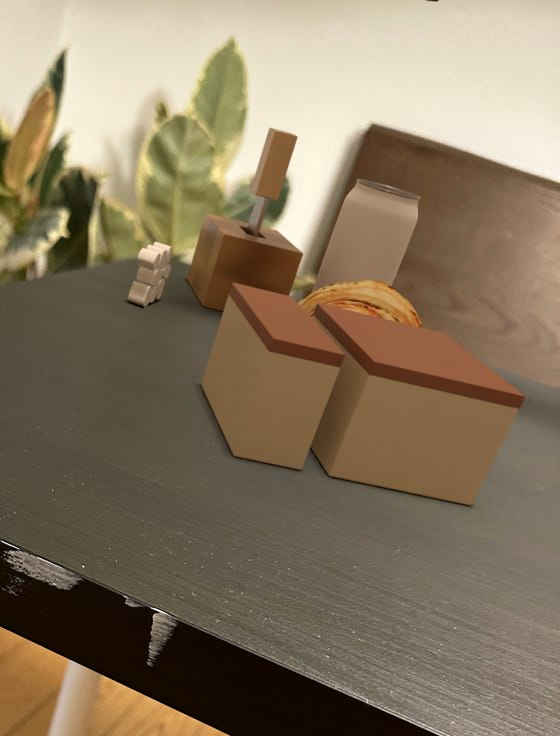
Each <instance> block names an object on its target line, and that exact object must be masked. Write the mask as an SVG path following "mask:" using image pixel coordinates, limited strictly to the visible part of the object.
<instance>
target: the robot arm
mask: <svg viewBox="0 0 560 736" xmlns="http://www.w3.org/2000/svg"><path fill="white" fill-rule="evenodd" d="M439 1H440V0H425V2H435V3H437V2H439Z"/></svg>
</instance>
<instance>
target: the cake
mask: <svg viewBox="0 0 560 736" xmlns="http://www.w3.org/2000/svg"><path fill="white" fill-rule="evenodd" d="M312 319H313V320H314V321H315V322H316V323H317V324H318V325H319V326H320V328H321V329H322V330H323V331H324V332H325V333H326V334H327V335H328V336H329V337H330V338H331V340H332V341H333V342H334V343H335V344H336V345H337V346H338V347H339V348H340V349H341V350H342V352H343V353H344V354H345V357H344V360H343V362H342V365H341V368H340V370H339V373H338V375H337V378H336V381H335V383H334V386H333V388H332V391H331V394H330V396H329V399H328V402H327V404H326V407H325V409H324V412H323V415H322V417H321V420H320V422H319V425H318V428H317V430H316V433H315V436H314V438H313V441H312V443H311V446H310V448H311V450H312V451H313V454H314V455H315V457H316V458H317V459H318V461H319V462H320V464H321V466H322V467H323V469H324V470H325V472H326V473H327V476H329V477H332V478H337V479H342V480H346V481H347V480H348V481H352V482H356V483H361V484H366V485H370V486H376V487H380V488H386V489H390V490H394V491H399V492H403V493H408V494H414V495H418V496H424V497H428V498H432V499H433V498H434V499H438V500H443V501H447V502H453V503H457V504H463V505H466V506H472V505H473V503H474V501H475V500H476V497H477V496H478V493H479V491H480V489H481V487H482V485H483V483H484V481H485V480H486V477H487V475H488V473H489V471H490V469H491V467H492V465H493V464H494V461H495V460H496V456H497V455H498V453H499V451H500V449H501V447H502V445H503V443H504V441H505V439H506V436H507V435H508V433H509V430H510V429H511V427H512V424H513V423H514V420H515V418H516V417H517V414H518V412H519V411H520V409H521V407H522V405H523V403H524V401H525V399H526V395H525V394H523V393H522V392H521V391H520V390H518V389H517V388H516V387H515V386H513V385H512V384H511V383H510V382H508V381H507V380H506V379H504V378H503V377H502V376H500V375H499V374H498V373H496V372H495V371H494V370H492V368H490V367H489V366H487V365H486V364H485V363H484V362H482V361H481V360H480V359H479V358H477V357H476V356H475V355H474V354H472V353H471V352H470V351H468V350H467V349H466V348H464V347H463V346H462V345H461V344H459V343H458V342H457V341H456V340H454V339H453V338H452V337H451V336H449V335H448V334H446V332H441V331H438V330H434V329H433V330H432V329H430V328H429V329H428V328H424V327H422V328H421V327H417V326H412V325H408V324H404V323H400V322H396V321H392V320H387V319H383V318H379V317H375V316H371V315H367V314H362V313H358V312H354V311H350V310H346V309H342V308H337V307H333V306H329V305H325V304H321V303H317V305H316V308H315V310H314V313H313V316H312Z"/></svg>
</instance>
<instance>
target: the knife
mask: <svg viewBox="0 0 560 736" xmlns="http://www.w3.org/2000/svg"><path fill="white" fill-rule="evenodd" d="M265 137H266V138H265V141H264V143H263V148H262V151H261V154H260V156H259V161H258V164H257V167H256V171H255V175H254V178H253V181H252V184H251V187H250V191H251V192H252V193H253V194H254V195H255V196H256V198H255V201H254V205H253V207H252V212H251V215H250V218H249V222H248V223H249V224H248V228H247V231H246V234H248V235H252V236H256V237H258V234H259V231H260V228H261V227H262V224H263V221H264V218H265V215H266V211H267V209H268V205H269V202H270V200H273V201H279V198H280V194H281V192H282V188H283V185H284V182H285V178H286V177H287V176H286V175H287V173H288V170H289V166H290V163H291V160H292V156H293V153H294V151H295V147H296V144H297V140H298V135H296V134H294V133H291V132H288V131H284V130H282V129H277V128H273V127H269V128H268V130H267V134H266V136H265Z"/></svg>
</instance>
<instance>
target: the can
mask: <svg viewBox="0 0 560 736" xmlns="http://www.w3.org/2000/svg"><path fill="white" fill-rule="evenodd" d="M421 199H422V198H421V196H419V195H416V194H414V193H412V192H409V191H405V190H403V189H401V188H400V189H399V188H396V187H393V186H389V185H386V184H382V183H378V182H374V181H372V180H371V181H370V180H366V179H361V178H357V179H356V183H355V185H354V187H353V188H352V189H351V190H350V191H349V192H348V194H347V195H346V196H345V198H344V200H343V203H342V206H341V207H340V211H339V214H338V216H337V220H336V222H335V225H334V227H333V231H332V233H331V236H330V239H329V243H328V245H327V247H326V250H325V253H324V256H323V259H322V262H321V264H320V268H319V270H318V273H317V276H316V279H315V281H314V284H313V288H312V290H311V293H313V292H314V291H316V290H318V289H320V288H323V287H325V286H328V285H329V284H336V283H340V282H345V281H348V282H358V281H360V280H370V281H380V282H383V283H385V284H387V285H388V286H391V287H393V284H394V283H395V282H394V281H395V279H396V277H397V274H398V271H399V270H400V266H401V264H402V261H403V259H404V256H405V254H406V251H407V248H408V246H409V244H410V241H411V238H412V236H413V233H414V230H415V228H416V225H417V222H418V219H419V210H418V209H419V201H420V200H421Z"/></svg>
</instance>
